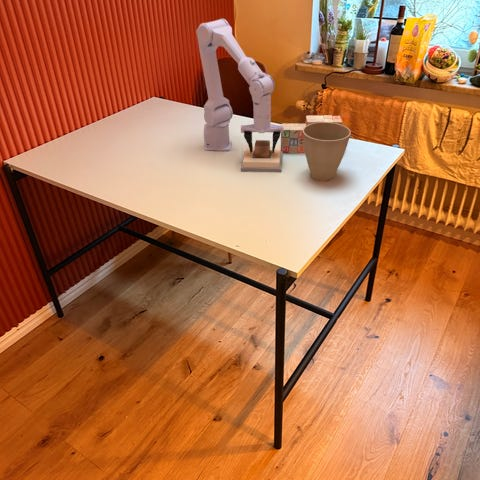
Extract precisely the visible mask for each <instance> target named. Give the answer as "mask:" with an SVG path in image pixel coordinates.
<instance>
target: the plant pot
mask: <svg viewBox="0 0 480 480" xmlns="http://www.w3.org/2000/svg"><path fill="white" fill-rule="evenodd" d="M350 137H351V130H350V128H348V127H347V126H346V125H343V124H342V125H341V124H337V123H331V122H318V123H312V124H309V125H307V126H306V127H304V129H303V139H304V148H305V153H304V155H305V158H306V163H307V166H308V169H309V172H310V176H311V177H312V178H313V179H314V180H316V181H321V182H324V181H325V182H326V181H330V180H332V179H333V178H334V176H335V175H336V173H337V171H338V168H339V167H340V165H341V162H342V161H343V158H344V156H345V153H346V150H347V147H348V144H349V140H350Z"/></svg>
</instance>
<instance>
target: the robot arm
mask: <svg viewBox="0 0 480 480" xmlns="http://www.w3.org/2000/svg"><path fill="white" fill-rule="evenodd" d="M195 33H196V38H197V41H198V42H197V43H198V48H199V49H198V50H199V54H200V55H199V56H200V60H201V66H202V71H203V77H204V82H205V87H206V91H207V92H206V93H207V97H208V99H207V101H206V102H205V104H204V105H203V110H204V111H203V117H204V118H203V119H204V122H205V123H204V126H203V139H204V151H230V150H231V147H232V142H233V141H232V140H230V125H229V124H230V123H231V120H232V118H233V116H234V112H233V108H232V106H231V105H230V99H228V98H226V97H224V92H223V87H222V81H221V75H220V70H219V69H220V68H219V64H218V63H219V61H218V58H217V49H218V47H223V48H224V49H225V50H226V52H227V53H228V54H229V55H230V56H231V57H232V58H233V60H234V61H235V62H236V63H237V70H238V71H239V73H240V74H241V76H242V77H243V78H244V80H245V81H246V82H247V84H248V85H249V87H248V90H249V93H250V95H251V100H252V102H253V103H252V105H253V123H252V124H247V125H246V124H245V125H243V124H242V125H240V133H241V134H243V138H244V140H245V141H246V143H247V145H248V146H249V149H250V153H252V151H253V147H254V145H253V133H258V134H265V133H272V146H271V147H272V153H274V150H275V147H277V144H278V141H279V139H280V138H281V133H283V132H284V126H281V125H278V124H272V123H271V121H272V119H271V117H272V116H271V115H272V114H271V112H272V110H271V109H272V106H271V105H272V103H271V99H272V93H273V91H274V90H275V82H274V81H275V80H274V79H273V77H272V76H271V75H269V74H267V73H266V72H264V71H262V70H261V68H260V67H259V65H258V63H256V61H255V59H254V58H252V57H250V56H249V57H248V56H246V54H245V52H244V50H243V49H242V48H241V46H240V44H239V42H237V39H236V38H235V37H234V35H233V27H232V26H231V25H230V24H229V22H228V21H227V20H226V19H225V18H220V19H216V20H213V21H208V22H202V23H200V24H199V26H198V28H197V29H196V31H195Z"/></svg>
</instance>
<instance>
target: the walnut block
mask: <svg viewBox="0 0 480 480" xmlns="http://www.w3.org/2000/svg"><path fill="white" fill-rule="evenodd" d="M254 147H255V158H270V147H271V141H270V140H269V139H268V140H265V139H262V140H261V139H255V142H254Z"/></svg>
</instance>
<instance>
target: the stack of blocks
mask: <svg viewBox="0 0 480 480" xmlns="http://www.w3.org/2000/svg"><path fill="white" fill-rule="evenodd" d="M318 122H331V123H337V124H341V125H343V121H342V117H341V115H331V114H330V115H327V114H326V115H325V114H324V115H306V116H305V123H281V124H280V126H284V132H283V133H280V147H281V151H283V154H305V148H304V139H303V129H304V127H306V126H307V125H309V124H312V123H318Z"/></svg>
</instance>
